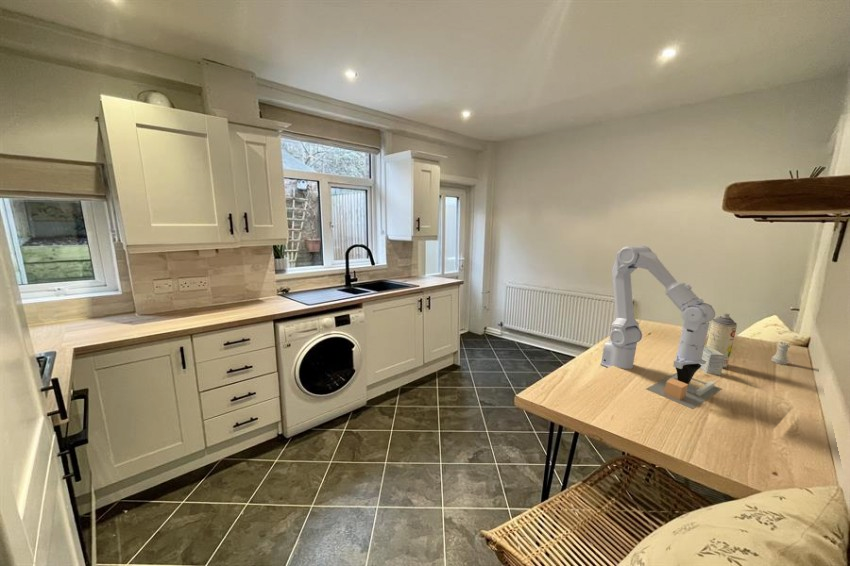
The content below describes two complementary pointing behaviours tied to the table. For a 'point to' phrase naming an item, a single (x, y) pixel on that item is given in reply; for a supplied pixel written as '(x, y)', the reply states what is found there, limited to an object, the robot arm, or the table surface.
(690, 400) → the channel
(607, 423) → the table surface
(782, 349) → the rook chess piece
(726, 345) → the aerosol can
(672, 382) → the block
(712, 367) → the medicine box
